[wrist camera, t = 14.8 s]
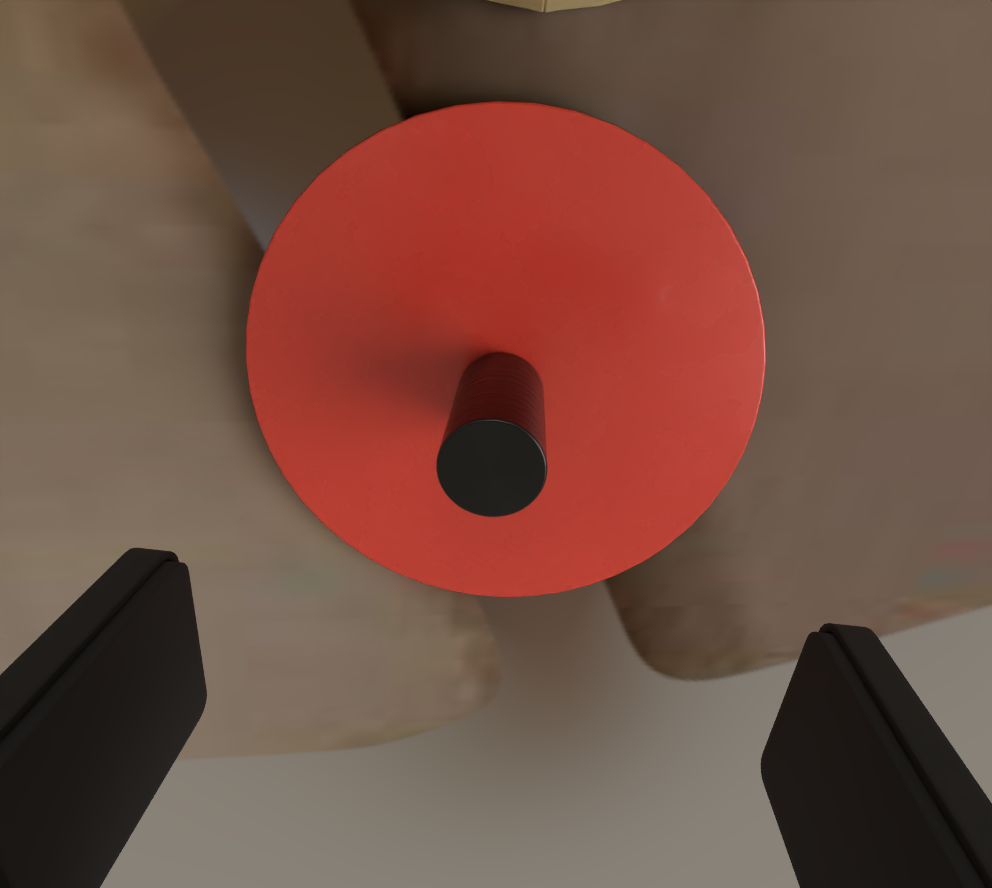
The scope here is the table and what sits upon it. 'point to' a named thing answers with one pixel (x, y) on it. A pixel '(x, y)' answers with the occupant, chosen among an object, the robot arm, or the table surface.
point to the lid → (505, 349)
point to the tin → (554, 4)
